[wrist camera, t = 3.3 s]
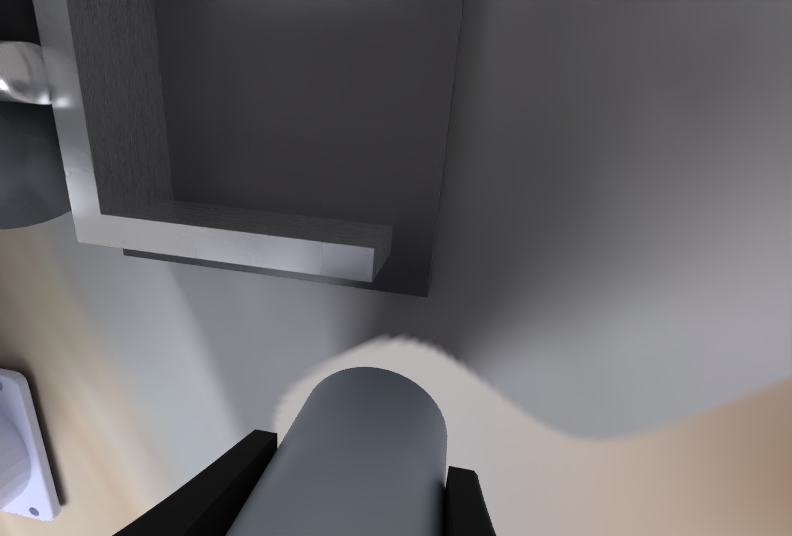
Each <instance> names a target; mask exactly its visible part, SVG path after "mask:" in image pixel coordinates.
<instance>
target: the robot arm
mask: <svg viewBox="0 0 792 536" xmlns="http://www.w3.org/2000/svg"><path fill="white" fill-rule="evenodd" d="M276 451H277V433H272V432H267V431H261V430H256V429H255V430H254V431H253V432H251V433H250V434H249V435H247V436H246V437H245V438H243V439H242V440H241V441H240V442H238V443H237V444H236V445H235V446H233V447H232V448H231V449H230V450H228V451H227V452H226V453H225V454H223V455H222V456H221V457H220V458H218V459H217V460H216V461H215V462H213V463H212V464H211V465H209V466H208V467H207V468H206V469H204V470H203V471H202V472H200V473H199V474H198V475H196V476H195V477H194V478H193V479H191V480H190V481H189V482H187V483H186V484H185V485H183V486H182V487H181V488H179V489H178V490H177V491H175V492H174V493H173V494H171V495H170V496H169V497H167V498H166V499H164V500H163V501H162V502H160V503H159V504H157V505H156V506H155V507H153V508H152V509H150V510H149V511H147V512H146V513H145V514H143V515H142V516H140V517H139V518H138V519H136V520H135V521H133V522H132V523H130V524H129V525H127V526H126V527H125V528H123V529H122V530H120V531H118V532H117V533H115V534H114V535H112V536H226V534H227V532H228V531H229V529H230V527H231V526H232V524H233V522H234V521H235V519H236V517H237V516H238V514H239V512H240V511H241V509H242V507H243V506H244V504H245V502H246V501H247V499H248V497H249V496H250V494H251V492H252V491H253V489H254V487H255V486H256V484H257V482H258V481H259V479H260V477H261V476H262V474H263V472H264V471H265V469H266V467H267V466H268V464H269V462H270V461H271V459H272V457H273V456H274V454H275V452H276ZM1 510H2V511H6V512H10V513H14V514H18V515H23V516H27V517H31V518H35V519H39V520H43V521H52V520H53V519H54V518H56V517H57V516H58V515H59V514H60V505H59V501H58V497H57V493H56V490H55V486H54V482H53V478H52V474H51V470H50V466H49V463H48V459H47V455H46V451H45V447H44V443H43V440H42V436H41V432H40V428H39V424H38V420H37V416H36V413H35V409H34V405H33V401H32V397H31V393H30V389H29V386H28V382H27V380H26V378H25V377H24V376H23V375H22V374H20V373H19V372H16V371H11V370H5V369H0V511H1ZM443 536H496V534H495V531H494V528H493V526H492V523H491V520H490V517H489V514H488V511H487V508H486V505H485V502H484V498H483V495H482V491H481V488H480V484H479V480H478V475H477V474H476V473H475V471H472V470H468V469H462V468H457V467H452V466H449V469H448V475H447V481H446V487H445V502H444V527H443Z"/></svg>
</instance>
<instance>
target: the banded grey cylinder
mask: <svg viewBox="0 0 792 536" xmlns="http://www.w3.org/2000/svg"><path fill="white" fill-rule="evenodd" d="M446 451H447V430H446V425H445V421H444V418H443V416H442V413H441V411H440V409H439V408H438V406H437V404H436V403H435V402H434V400H433V399H432V398H431V396H430V395H428V393H427V392H426V391H425V390H424V389H422V388H421V387H420V386H419V385H417V384H416V383H414V382H413V381H411V380H410V379H408V378H406V377H404V376H402V375H400V374H398V373H394V372H392V371H389V370H385V369H380V368H373V367H356V368H350V369H345V370H342V371H339V372H336V373H334V374H332V375H330V376H328V377H327V378H325V379H324V380H323V381H321V382H320V383H319V384H318V385H317V386H316V387H315V388H314V389H313V391H312V393H311V394H310V396H309V397H308V399H307V401H306V402H305V404H304V406H303V407H302V409H301V411H300V412H299V414H298V416H297V417H296V419H295V421H294V422H293V424H292V426H291V427H290V429H289V431H288V432H287V434H286V436H285V437H284V439H283V441H282V442H281V444H280V446H279V447H278V449H277V451H276V452H275V454H274V456H273V457H272V459H271V461H270V462H269V464H268V466H267V467H266V469H265V471H264V472H263V474H262V476H261V477H260V479H259V481H258V482H257V484H256V486H255V487H254V489H253V491H252V492H251V494H250V496H249V497H248V499H247V501H246V502H245V504H244V506H243V507H242V509H241V511H240V512H239V514H238V516H237V517H236V519H235V521H234V522H233V524H232V526H231V527H230V529H229V531H228V532H227V534H226V536H443V527H444V502H445V476H446Z"/></svg>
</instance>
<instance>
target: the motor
mask: <svg viewBox="0 0 792 536" xmlns="http://www.w3.org/2000/svg"><path fill="white" fill-rule="evenodd" d="M463 2H464V0H0V229H11V228H19V227H26V226H30V225H34V224H38V223H42V222H46V221H48V220H51V219H53V218H56V217H58V216H61V215H63V214H64V213H66V212H68V211H70V210H72V214H73V220H74V225H75V230H76V236H77V241H78V242H80V243H87V244H94V245H102V246H109V247H116V248H123V252H124V255H126V256H134V257H141V258H148V259H155V260H162V261H170V262H177V263H184V264H191V265H198V266H206V267H213V268H220V269H227V270H234V271H242V272H249V273H256V274H263V275H270V276H278V277H285V278H292V279H299V280H307V281H314V282H321V283H328V284H335V285H343V286H350V287H357V288H364V289H371V290H379V291H386V292H393V293H400V294H407V295H415V296H422V297H427V296H428V292H429V287H430V278H431V270H432V261H433V253H434V245H435V236H436V228H437V220H438V211H439V203H440V195H441V186H442V178H443V169H444V161H445V153H446V144H447V136H448V128H449V119H450V111H451V103H452V94H453V86H454V77H455V69H456V61H457V52H458V44H459V36H460V27H461V19H462V11H463Z"/></svg>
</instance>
